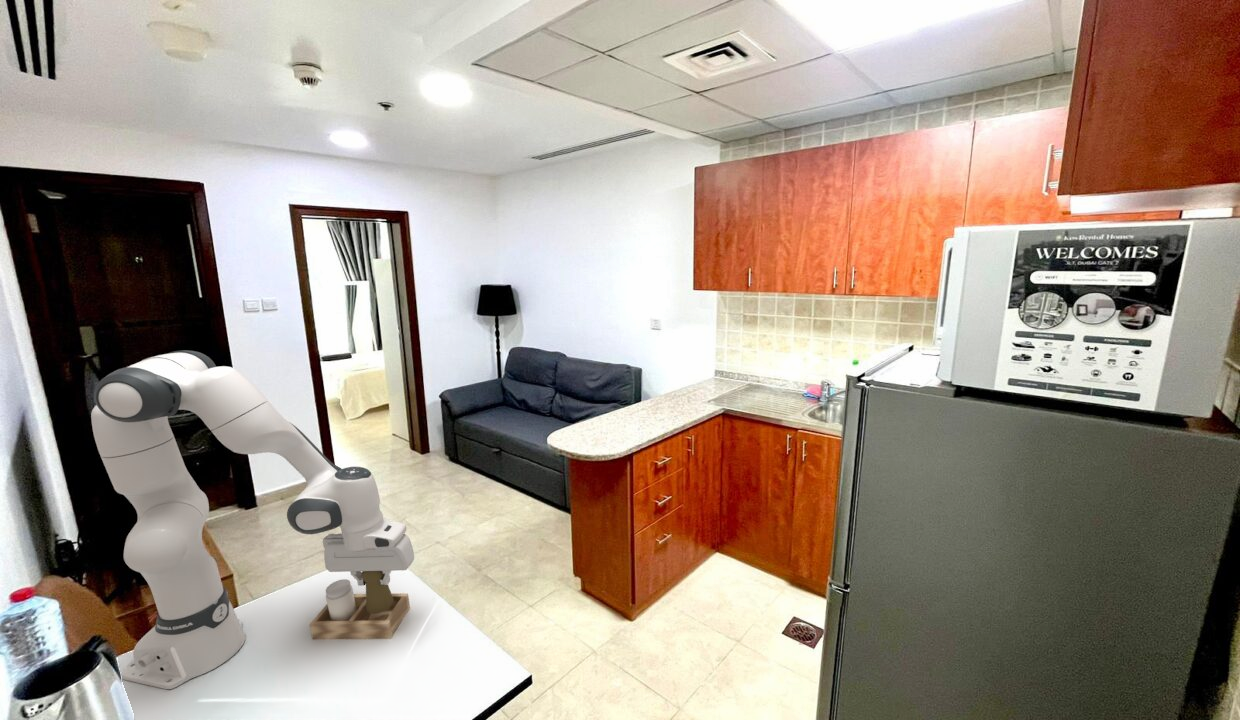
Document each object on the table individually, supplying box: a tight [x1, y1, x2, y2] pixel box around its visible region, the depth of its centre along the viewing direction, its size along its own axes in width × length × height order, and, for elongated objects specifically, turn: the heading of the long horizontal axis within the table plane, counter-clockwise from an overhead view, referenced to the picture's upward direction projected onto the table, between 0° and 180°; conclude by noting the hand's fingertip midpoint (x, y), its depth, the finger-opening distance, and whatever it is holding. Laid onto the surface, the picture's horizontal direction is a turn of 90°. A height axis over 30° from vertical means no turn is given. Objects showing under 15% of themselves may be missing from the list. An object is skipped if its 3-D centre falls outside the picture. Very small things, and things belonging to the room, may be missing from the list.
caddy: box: [308, 592, 411, 641], centre depth 117 cm, size 19×10×5 cm, turn 88°
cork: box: [361, 571, 394, 614], centre depth 115 cm, size 6×6×11 cm
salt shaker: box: [325, 578, 357, 621], centre depth 116 cm, size 6×6×10 cm
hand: (374, 583), depth 114 cm, fingers closed on cork, 4 cm apart
